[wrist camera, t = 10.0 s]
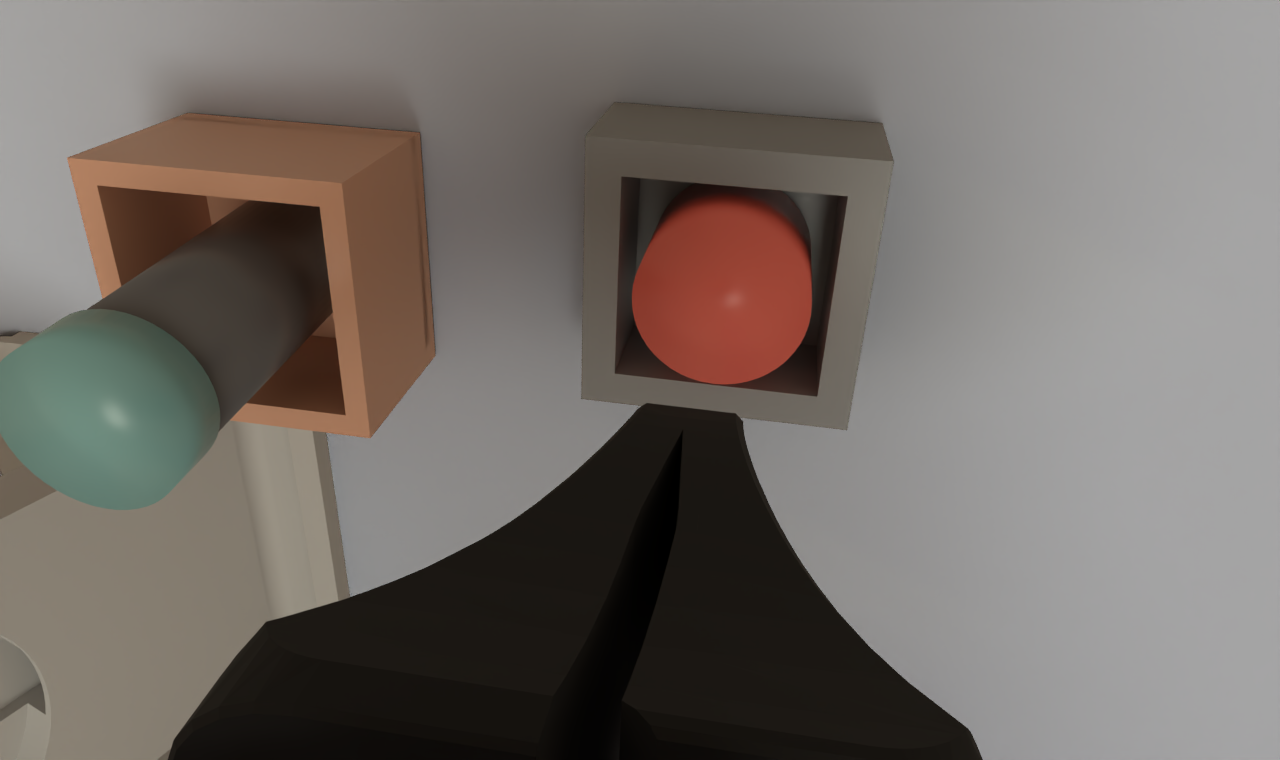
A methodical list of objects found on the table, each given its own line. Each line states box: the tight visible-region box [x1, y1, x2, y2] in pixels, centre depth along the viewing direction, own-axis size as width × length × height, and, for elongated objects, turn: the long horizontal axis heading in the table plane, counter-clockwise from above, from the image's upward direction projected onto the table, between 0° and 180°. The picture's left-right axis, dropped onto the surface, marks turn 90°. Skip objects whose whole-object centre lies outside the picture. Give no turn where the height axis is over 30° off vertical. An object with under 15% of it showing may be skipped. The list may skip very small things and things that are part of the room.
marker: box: [0, 200, 333, 510], centre depth 18 cm, size 3×3×8 cm
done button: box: [632, 183, 812, 384], centre depth 19 cm, size 3×3×3 cm
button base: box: [581, 102, 894, 430], centre depth 20 cm, size 6×6×3 cm
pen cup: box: [67, 113, 435, 438], centre depth 21 cm, size 6×6×4 cm
